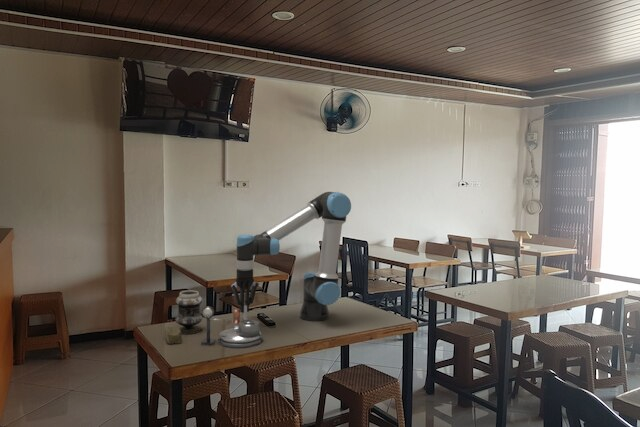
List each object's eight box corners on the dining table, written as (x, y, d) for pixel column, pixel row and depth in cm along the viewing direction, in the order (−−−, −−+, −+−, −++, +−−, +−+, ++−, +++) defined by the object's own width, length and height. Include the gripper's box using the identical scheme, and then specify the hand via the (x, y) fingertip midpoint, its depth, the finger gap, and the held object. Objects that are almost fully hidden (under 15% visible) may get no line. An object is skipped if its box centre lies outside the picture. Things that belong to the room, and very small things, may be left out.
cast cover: (257, 330, 216) (257, 317, 216) (261, 336, 208) (261, 323, 207) (237, 332, 213) (237, 318, 213) (240, 338, 205) (240, 324, 204)
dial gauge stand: (222, 341, 210) (222, 304, 209) (219, 345, 205) (219, 307, 204) (204, 340, 210) (204, 304, 209) (200, 344, 205) (200, 307, 204)
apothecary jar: (203, 333, 221) (203, 294, 219) (176, 336, 216) (176, 296, 215) (200, 325, 232) (200, 288, 231) (174, 328, 228) (174, 290, 226)
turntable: (255, 325, 227) (255, 307, 226) (264, 341, 206) (265, 321, 205) (216, 328, 222) (216, 310, 221) (221, 344, 200) (221, 324, 200)
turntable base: (265, 334, 221) (265, 330, 221) (258, 348, 202) (259, 345, 202) (223, 333, 221) (223, 329, 221) (213, 347, 202) (213, 344, 202)
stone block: (168, 345, 204) (168, 334, 204) (164, 337, 215) (164, 326, 214) (182, 343, 207) (182, 332, 206) (178, 335, 217) (177, 324, 217)
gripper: (255, 266, 228) (254, 315, 230) (228, 268, 222) (228, 318, 224) (261, 269, 222) (260, 319, 224) (234, 271, 215) (233, 323, 218)
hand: (244, 319), depth 224 cm, fingers closed
